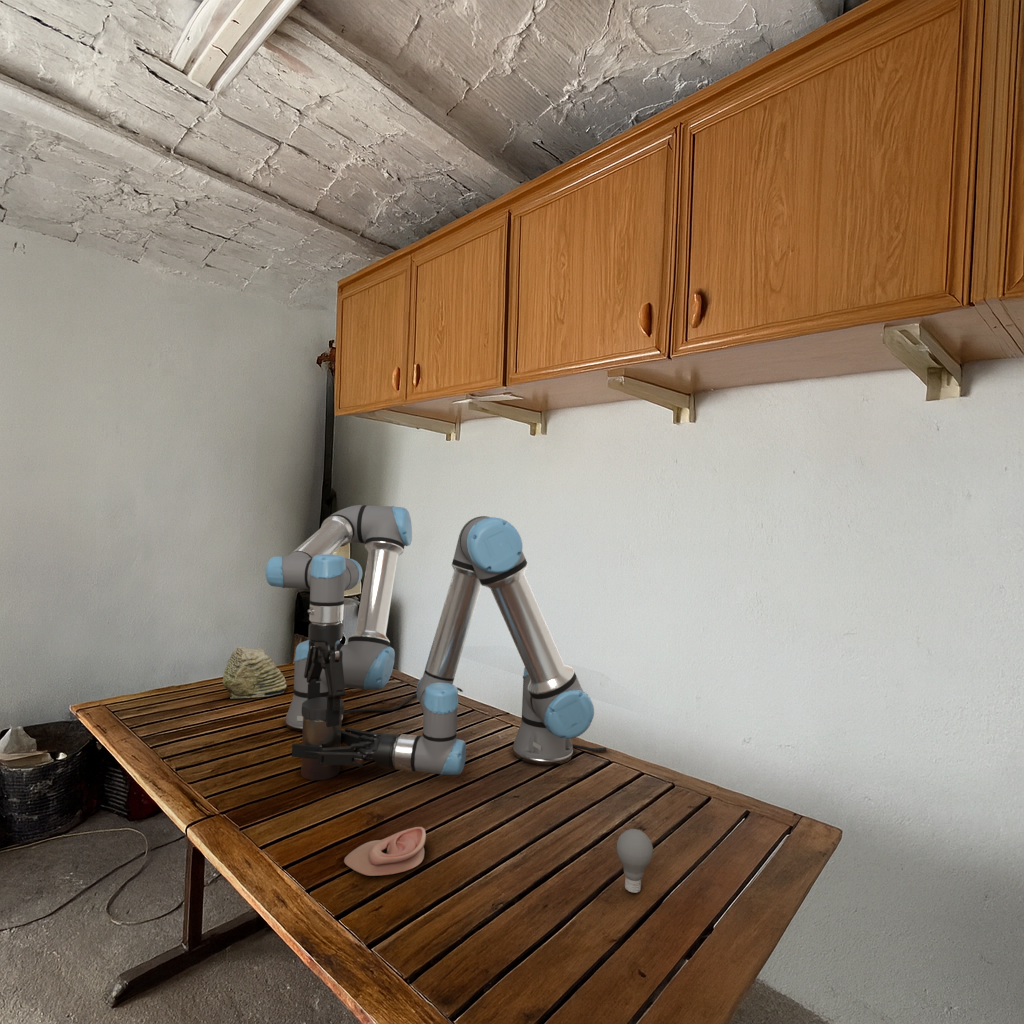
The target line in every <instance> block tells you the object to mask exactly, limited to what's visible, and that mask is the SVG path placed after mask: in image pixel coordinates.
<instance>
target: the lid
mask: <svg viewBox="0 0 1024 1024" xmlns="http://www.w3.org/2000/svg"><path fill="white" fill-rule="evenodd" d="M344 711H345V702H344V700H343V699H342V698H340V712H339V716H341V715H342V714H343V715H344V713H343V712H344ZM301 713H302V716H303V717H304V718H307V719H311V720H326V714H327V698H326V697H317V698H312V699H308V700H306V701H304V702H303V703H302V712H301Z"/></svg>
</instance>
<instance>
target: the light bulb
mask: <svg viewBox="0 0 1024 1024" xmlns="http://www.w3.org/2000/svg"><path fill="white" fill-rule="evenodd" d="M615 849H616V854H617V857H618V859H619V861H620V863H621V865H622V867H623V873H624V874H623V875H624V876H625V878H624V888H625V890H627V891H628V892H630V893H634V894H635V893H639V892H640V891H641V889H642V887H641V886H642V879H643V877H644V875H645V871H646V868H647V867H648V866H649V864H650V863H651V861H652V859H653V855H654V847H653V843H652V841H651V838H649V836H648V835H647V834H646V833H645V832H643V831H642V830H641V829H636V828H629V829H627V830H625V831H623V832H622V833H621V834H620V835H619V837H618V839H617V841H616V847H615Z"/></svg>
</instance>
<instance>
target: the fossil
mask: <svg viewBox="0 0 1024 1024" xmlns="http://www.w3.org/2000/svg"><path fill="white" fill-rule="evenodd" d="M222 676H223V677H222V685H223V687H224V688H225V690H226V691H228V693H229V698H230V699H250V698H264V697H271V696H275V695H281V694H284V693H285V691H286V689H287V687H288V686H287V680H286V678H285V676H284V674H283V673H282V672H281V669H279V668H278V667H277V665H276V663H275V662H274V660H273V659H272V658H271V657H270V656H269V655H268V654H267V653H266V652H265V650H264V649H263V648H260V647H258V648H251V647H247V646H246V647H245V646H238V647H237V648H236V649H235V650H233V651H232V653H231V656H230V657H229V659H228V660H227V663H226V666H225V668H224V671H223V675H222Z"/></svg>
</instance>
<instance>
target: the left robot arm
mask: <svg viewBox="0 0 1024 1024" xmlns="http://www.w3.org/2000/svg"><path fill="white" fill-rule="evenodd" d="M412 524H413V523H412V518H411V515H410V512H409V511H408V509H407V508H405V507H401V506H394V505H392V506H389V505H365V504H355V505H351V506H348V507H345V508H342V509H340V510H337V511H336V512H334V513H332V514H330V515H329V516H328V517H326V518H325V519H324V520H323V521H322V523H321V526H320V528H319V529H317V531H315V532H314V533H313V534H312V535H311V536H310V537H308V538H307V539H306V540H305V541H303V542H302V544H300V545H299V546H298V547H296V548H295V549H294V550H293V551H292V552H291V553H290V554H288V555H287V556H283V555H279V556H272V557H271V558H269V560H268V561H267V563H266V567H265V580H266V582H267V584H268V585H269V586H270V587H276V588H282V589H305V590H307V589H308V590H309V593H310V594H309V609H307V613H308V615H309V617H308V620H309V621H310V623H309V624H308V636H307V637H308V639H307V640H304V641H302V642H300V643H298V644H297V645H296V647H295V654H294V659H293V661H294V670H293V671H294V672H293V695H292V696H293V697H292V699H291V702H290V704H289V708H288V711H287V713H286V715H285V726H286V728H287V729H289V730H291V731H294V732H295V731H296V732H301V733H303V716H302V713H301V712H302V703H303V702H304V701H306V700H308V699H312V698H317V697H326V698H327V714H326V727H331V726H336V725H339V712H340V699H341V697H346V689H355V690H356V689H357V690H358V689H359V690H365V691H370V690H375V691H376V690H377V691H378V690H382V689H383V688H384V687H385V686H386V685H387V684H388V683H389V681H390V678H391V677H392V676H391V675H392V673H393V671H394V666H395V657H396V653H395V649H394V648H393V647H392V646H391V641H390V640H389V638H388V637H387V629H388V624H389V616H390V610H391V602H392V597H393V591H394V583H395V577H396V570H397V564H398V557H400V556H401V555H403V554H404V551H405V547H408V546H411V544H412V541H413V526H412ZM348 544H364V549H365V550H366V552H367V553H368V554H367V559H366V566H365V572H364V578H363V568H362V566H361V564H360V563H359V562H358V561H357V560H355V559H353V558H345V556H343V555H341V554H334V553H335V552H337V551H338V549H340V548H342V547H345V546H347V545H348ZM362 579H363V583H362V589H361V595H360V596H361V597H360V602H359V608H358V613H357V619H356V625H355V630H354V632H353V633H352V634H350V635H349V636H348V638H347V644H341V640H342V639H343V637H344V636H343V635H344V634H343V633H344V624H343V621H344V617H345V615H344V613H345V591H350V590H352V589H353V588H355V587H356V586H357V585H359V584H360V582H361V581H362ZM456 687H457V686H456ZM457 689H458V692H460V693H463V692H464V690H463V689H462V688H460V687H457ZM415 697H416V698H417V693H415V694H412V695H411V696H410V697H408V698H407V699H406V700H404V701H403V702H401V703H400V704H398V705H397V706H394V707H391V708H359V709H357V708H356V709H348V710H347V709H346V710H344V712H343V714H342V723H343V722H344V714H352V713H361V712H362V713H363V712H364V713H365V712H374V713H375V712H376V713H377V712H378V713H379V712H380V713H381V712H382V713H383V712H385V713H386V712H392V711H395V710H398V709H400V708H401V707H402V706H404V705H405V704H407V703H408V702H410V701H411V700H412V699H413V698H415Z"/></svg>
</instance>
